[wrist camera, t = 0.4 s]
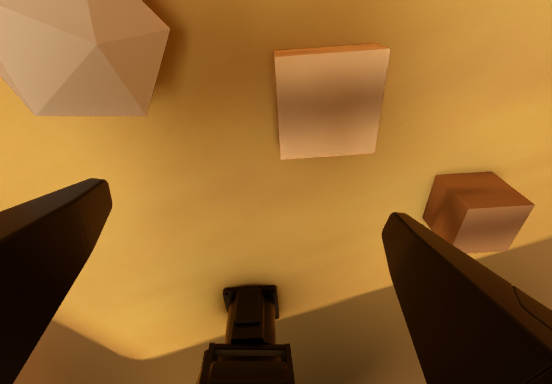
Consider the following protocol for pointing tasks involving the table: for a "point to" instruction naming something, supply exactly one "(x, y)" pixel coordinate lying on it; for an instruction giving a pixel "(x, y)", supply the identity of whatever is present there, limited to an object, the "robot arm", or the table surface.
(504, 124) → the table surface
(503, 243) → the walnut cube
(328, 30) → the table surface
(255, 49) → the table surface
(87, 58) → the die
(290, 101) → the maple base
